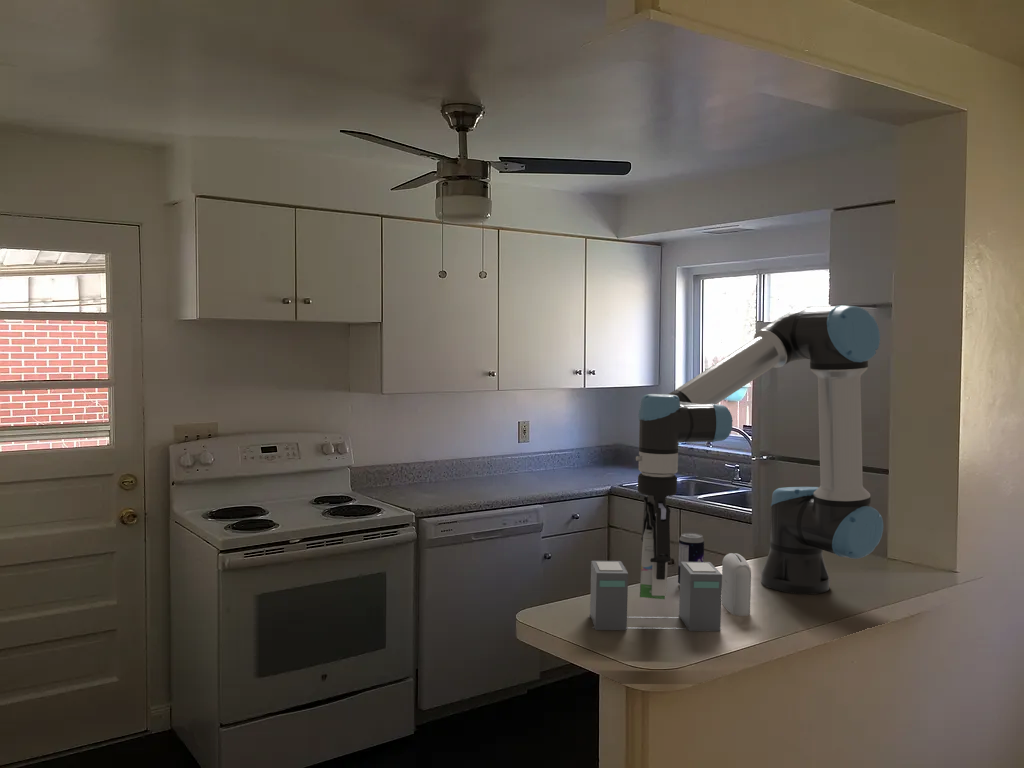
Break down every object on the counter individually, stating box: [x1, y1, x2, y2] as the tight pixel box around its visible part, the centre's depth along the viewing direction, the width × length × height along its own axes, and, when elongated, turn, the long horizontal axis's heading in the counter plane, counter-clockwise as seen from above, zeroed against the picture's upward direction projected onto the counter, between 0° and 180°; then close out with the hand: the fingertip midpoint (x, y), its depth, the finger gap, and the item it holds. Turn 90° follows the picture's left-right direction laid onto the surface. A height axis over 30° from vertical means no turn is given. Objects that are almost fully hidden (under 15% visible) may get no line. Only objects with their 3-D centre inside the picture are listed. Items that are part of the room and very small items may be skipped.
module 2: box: [678, 561, 722, 632], centre depth 168 cm, size 6×9×11 cm, turn 1°
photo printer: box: [721, 552, 752, 617], centre depth 178 cm, size 10×4×12 cm, turn 0°
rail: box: [588, 615, 722, 631], centre depth 168 cm, size 25×8×1 cm, turn 91°
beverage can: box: [677, 532, 705, 585], centre depth 197 cm, size 6×6×12 cm
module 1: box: [589, 560, 629, 631], centre depth 167 cm, size 6×9×11 cm, turn 1°
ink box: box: [639, 529, 669, 600], centre depth 167 cm, size 9×5×12 cm, turn 169°
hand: (654, 587), depth 168 cm, fingers closed on ink box, 9 cm apart
